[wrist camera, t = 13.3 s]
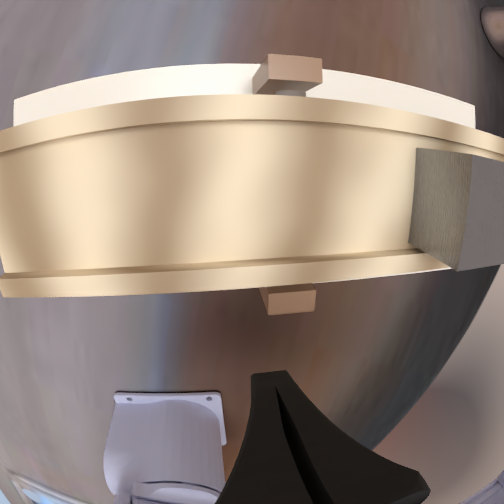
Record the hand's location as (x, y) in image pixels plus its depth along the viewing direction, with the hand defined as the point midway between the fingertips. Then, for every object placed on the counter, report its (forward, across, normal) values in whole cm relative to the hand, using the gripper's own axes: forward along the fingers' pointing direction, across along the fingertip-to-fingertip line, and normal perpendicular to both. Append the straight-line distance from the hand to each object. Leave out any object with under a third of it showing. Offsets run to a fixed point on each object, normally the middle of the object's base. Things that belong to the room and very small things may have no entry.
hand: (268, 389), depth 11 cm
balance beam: (+5, -2, -7) cm, 9 cm away
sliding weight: (+4, -11, -7) cm, 13 cm away
